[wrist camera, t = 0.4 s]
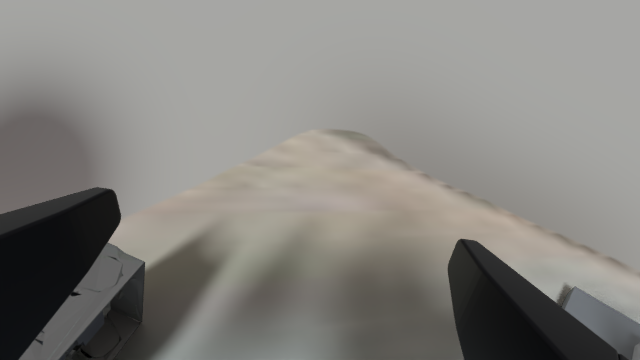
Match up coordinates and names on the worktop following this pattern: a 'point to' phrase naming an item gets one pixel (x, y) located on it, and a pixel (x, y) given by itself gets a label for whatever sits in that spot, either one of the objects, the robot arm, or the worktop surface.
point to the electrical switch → (95, 312)
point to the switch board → (605, 322)
